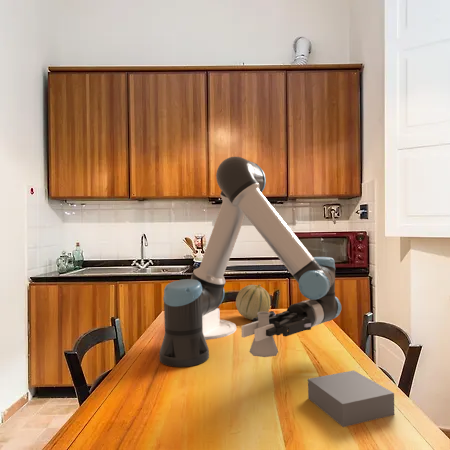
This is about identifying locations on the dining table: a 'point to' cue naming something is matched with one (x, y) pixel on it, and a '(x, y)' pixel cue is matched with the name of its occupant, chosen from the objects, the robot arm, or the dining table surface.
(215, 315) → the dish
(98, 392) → the dining table surface
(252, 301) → the cantaloupe
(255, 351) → the flask
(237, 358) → the dining table surface
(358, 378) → the riser block
